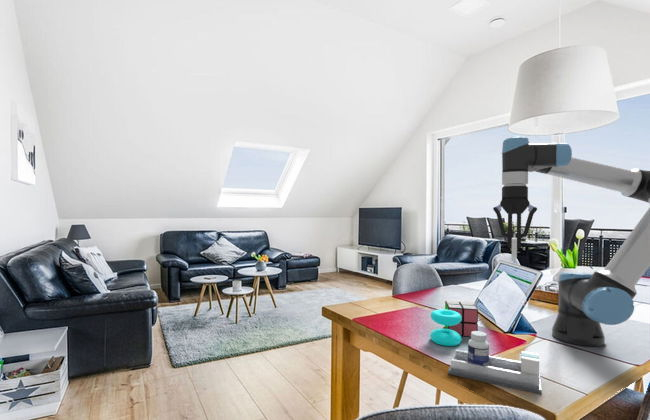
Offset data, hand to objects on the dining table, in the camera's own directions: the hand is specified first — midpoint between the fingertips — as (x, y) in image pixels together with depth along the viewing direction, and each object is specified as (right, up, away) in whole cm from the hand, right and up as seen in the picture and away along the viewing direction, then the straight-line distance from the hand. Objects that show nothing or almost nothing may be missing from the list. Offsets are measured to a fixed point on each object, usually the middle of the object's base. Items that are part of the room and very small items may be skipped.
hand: (514, 258), depth 119 cm
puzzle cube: (-12, -29, +15) cm, 35 cm away
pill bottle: (-19, -29, -17) cm, 38 cm away
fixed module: (-8, -30, -23) cm, 39 cm away
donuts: (-21, -29, +5) cm, 36 cm away
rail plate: (-16, -29, -19) cm, 38 cm away
